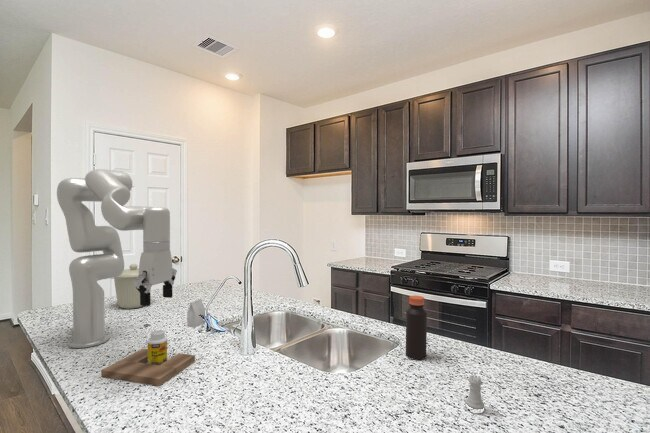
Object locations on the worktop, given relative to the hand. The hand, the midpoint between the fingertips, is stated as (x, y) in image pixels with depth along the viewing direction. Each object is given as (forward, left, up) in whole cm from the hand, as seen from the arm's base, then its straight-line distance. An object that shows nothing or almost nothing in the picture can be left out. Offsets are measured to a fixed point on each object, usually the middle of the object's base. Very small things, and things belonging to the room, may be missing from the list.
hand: (156, 301), depth 108 cm
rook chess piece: (+93, 0, -20) cm, 95 cm away
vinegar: (+79, +28, -20) cm, 86 cm away
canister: (-57, +51, -20) cm, 79 cm away
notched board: (0, -3, -20) cm, 20 cm away
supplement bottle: (0, 0, -20) cm, 20 cm away
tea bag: (-11, +36, -20) cm, 43 cm away
